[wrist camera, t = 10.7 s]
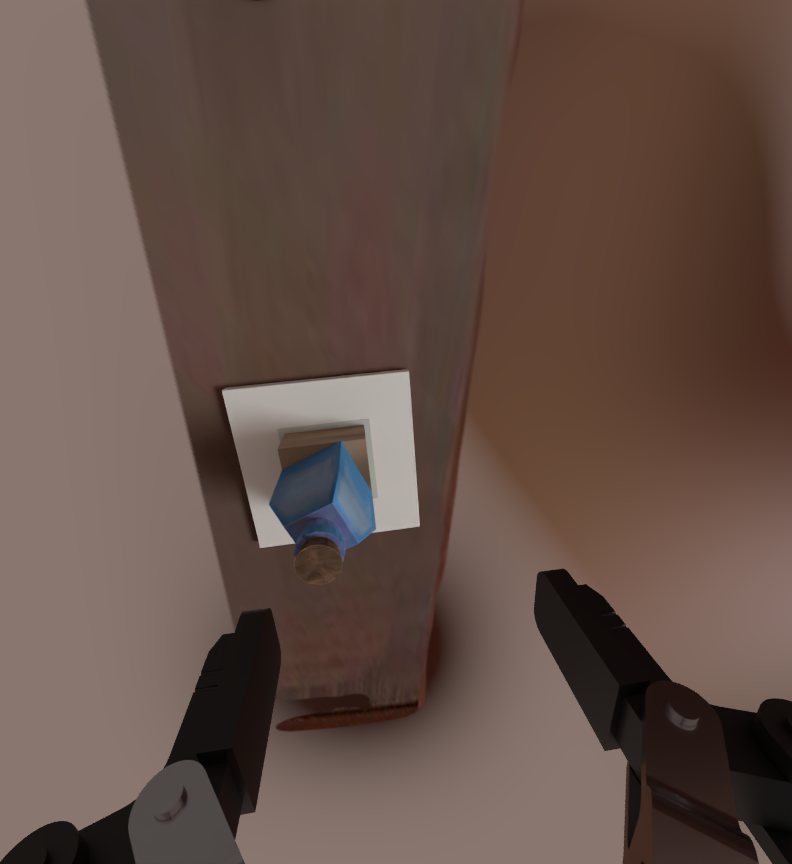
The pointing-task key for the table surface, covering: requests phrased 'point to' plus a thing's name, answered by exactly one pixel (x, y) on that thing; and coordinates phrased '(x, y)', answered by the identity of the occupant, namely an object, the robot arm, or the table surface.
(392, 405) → the build board
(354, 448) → the walnut block
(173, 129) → the table surface
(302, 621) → the table surface
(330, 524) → the perfume bottle
